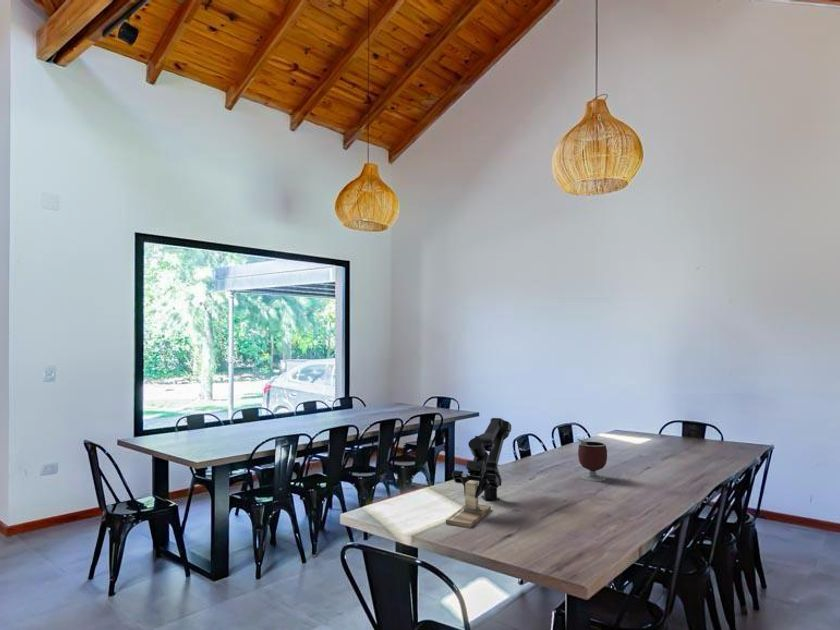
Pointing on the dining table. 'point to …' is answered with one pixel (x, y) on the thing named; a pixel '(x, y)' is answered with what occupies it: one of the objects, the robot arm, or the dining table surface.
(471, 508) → the tall beige pillar block
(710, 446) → the dining table surface
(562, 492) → the dining table surface
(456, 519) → the walnut board
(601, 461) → the mate gourd
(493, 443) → the robot arm
